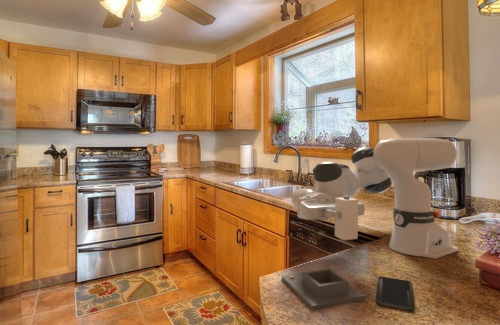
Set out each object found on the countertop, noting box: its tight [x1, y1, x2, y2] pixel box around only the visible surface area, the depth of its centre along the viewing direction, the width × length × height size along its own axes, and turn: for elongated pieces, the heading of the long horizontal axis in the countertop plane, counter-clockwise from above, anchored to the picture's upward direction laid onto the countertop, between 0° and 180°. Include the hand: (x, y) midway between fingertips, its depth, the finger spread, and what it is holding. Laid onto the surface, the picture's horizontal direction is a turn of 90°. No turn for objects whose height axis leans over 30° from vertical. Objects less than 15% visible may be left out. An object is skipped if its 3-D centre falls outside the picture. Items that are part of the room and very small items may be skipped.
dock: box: [281, 267, 366, 311], centre depth 75 cm, size 14×16×4 cm
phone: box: [375, 276, 415, 313], centre depth 72 cm, size 8×1×15 cm
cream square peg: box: [334, 196, 359, 241], centre depth 84 cm, size 4×4×12 cm
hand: (348, 215), depth 83 cm, fingers closed on cream square peg, 4 cm apart
